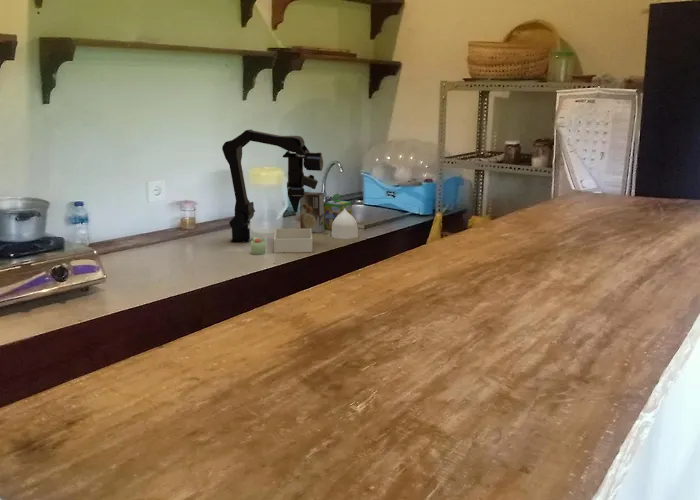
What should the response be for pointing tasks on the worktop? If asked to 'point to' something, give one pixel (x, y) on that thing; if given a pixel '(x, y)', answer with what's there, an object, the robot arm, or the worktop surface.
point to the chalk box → (334, 210)
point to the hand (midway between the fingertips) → (295, 209)
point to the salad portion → (257, 246)
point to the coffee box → (312, 211)
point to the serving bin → (292, 240)
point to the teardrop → (344, 226)
